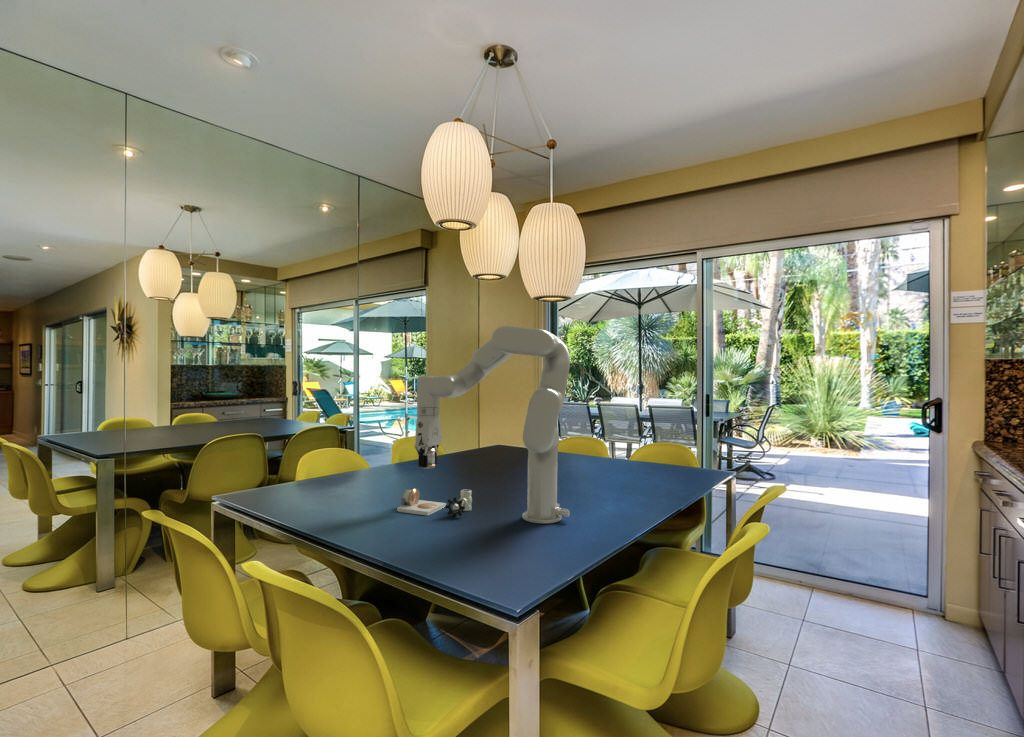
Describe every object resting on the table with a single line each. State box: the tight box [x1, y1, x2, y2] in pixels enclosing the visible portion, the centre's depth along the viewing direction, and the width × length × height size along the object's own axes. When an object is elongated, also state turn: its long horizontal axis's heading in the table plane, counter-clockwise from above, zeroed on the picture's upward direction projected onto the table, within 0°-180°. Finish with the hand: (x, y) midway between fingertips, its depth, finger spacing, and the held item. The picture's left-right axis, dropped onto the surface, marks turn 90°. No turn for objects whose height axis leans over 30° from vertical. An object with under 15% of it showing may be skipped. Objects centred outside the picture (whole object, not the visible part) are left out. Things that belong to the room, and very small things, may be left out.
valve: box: [444, 488, 473, 518], centre depth 167 cm, size 7×7×12 cm
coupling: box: [419, 447, 436, 470], centre depth 170 cm, size 5×5×6 cm
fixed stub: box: [400, 488, 421, 506], centre depth 172 cm, size 4×6×7 cm, turn 158°
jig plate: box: [396, 499, 447, 517], centre depth 170 cm, size 12×12×1 cm
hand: (427, 465), depth 170 cm, fingers closed on coupling, 5 cm apart
